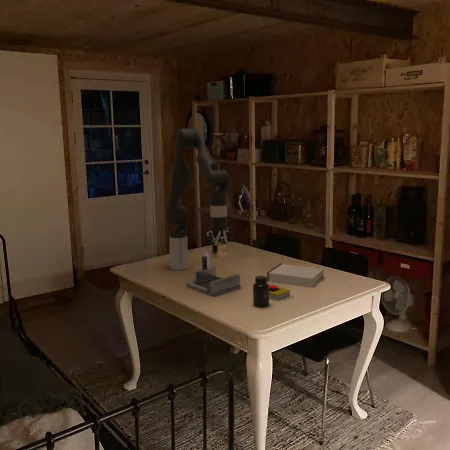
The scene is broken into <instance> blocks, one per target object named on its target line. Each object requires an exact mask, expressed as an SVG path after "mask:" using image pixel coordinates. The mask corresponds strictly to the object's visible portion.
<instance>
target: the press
mask: <svg viewBox="0 0 450 450" xmlns="http://www.w3.org/2000/svg"><path fill="white" fill-rule="evenodd" d="M240 279H241V275H240V274H239V273H237V274H236V273H235V274H232V275H229V276H225V277H222V276H218V275H216V279H214V280H211V281H207V282H204V283H200V284H195V283H194V281H187V283H186V288H190V289H193V290H194V291H197V292H200V293H203V294H206V295H208V296H211V297H214V298H216V297H218V296H222V295H225V294H228V293H231V292H235V291H237V290H241V289H242V288H241V280H240Z"/></svg>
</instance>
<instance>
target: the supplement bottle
mask: <svg viewBox="0 0 450 450" xmlns="http://www.w3.org/2000/svg"><path fill="white" fill-rule="evenodd" d="M254 280H255V282H254V283H253V284H252V304H253V306H255V307H257V308H266V307H269V305H270V299H269V285H270V284H269V283H268V281H267V275H266V276H265V275H256V276H255V279H254Z"/></svg>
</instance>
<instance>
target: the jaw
mask: <svg viewBox="0 0 450 450" xmlns="http://www.w3.org/2000/svg"><path fill="white" fill-rule="evenodd" d="M201 267H202V268H201V269H197V270H194V271H193V274H192V275H193V282H194V283H195V284H200V283H204V282H207V281H211V280H214V279H216V276H217V267H216V266H213V265H212V266H208V256H207V255H203V256H201Z"/></svg>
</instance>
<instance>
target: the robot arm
mask: <svg viewBox="0 0 450 450" xmlns="http://www.w3.org/2000/svg"><path fill="white" fill-rule="evenodd" d="M174 143H175V145H174V146H175V148H174V159H173V169H172V173H171V174H172V175H171V180H170V189H169V194H168V200H167V203H166V208H165V213H164V214H165V215H164V219H165V221H166V224H168V225H176V226H175V227H174V228H172V229H171V230H170V231H169V233H168V234H169V250H168V253H169V254H168V255H169V257H168V258H169V268H170V269H171V270H172V271H183V270H185V271H186V270H188V269H189V252H188V251H189V250H188V248H189V247H188V231H189V229H188V228H189V226H188V225H189V214H188V209H187V207H186V206H185V205H184V204H183V205H178V203H179V201H180V199H181V198H182V197H183V195H184V194H185V193H186V192H187V190H188V189H189V186H190V182H191V176H192V172H191V169H190V167H189V164H188V162H187V161H186V157H185V150H186V149H194V148H195V149H196V150H197V155H196V162H197V164H198V166H199V167H200V169H201V170H202V172H203V175H204V179H205V183H206V185H207V186H208V187H213V188H215V187H218V188H217V190H215V191H212V192H210V195H209V196H210V201H209V202H210V203H209V204H210V205H209V206H210V209H209V217H210V219H209V220H210V222H209V223H210V227H211V229H210V230H209V231H206V232H205V234H206V239H207V244H208V245H210V246H211V245H212V252H213V253H215V254H216V253H217V243H218V241H219V239H221V243H224V244H227V245H228V242H230V241H231V237H232V231H233V230H232V227H227V225H228V210H227V209H228V208H227V194H228V189H229V185H230V181H231V180H230V174H229V172H228V171H227V170H225V169H219V170H218V167H219V166H218V164H217V162H216V161H215V159H214V158H213V156H212V155H211V154H210V152H209V150H208V148H207V145H206V142H205V140H204V139H203V136H202V133H200V131H199V129H197V128H193V127H192V128H179V129H178V130H177V131H176V135H175V142H174Z"/></svg>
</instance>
